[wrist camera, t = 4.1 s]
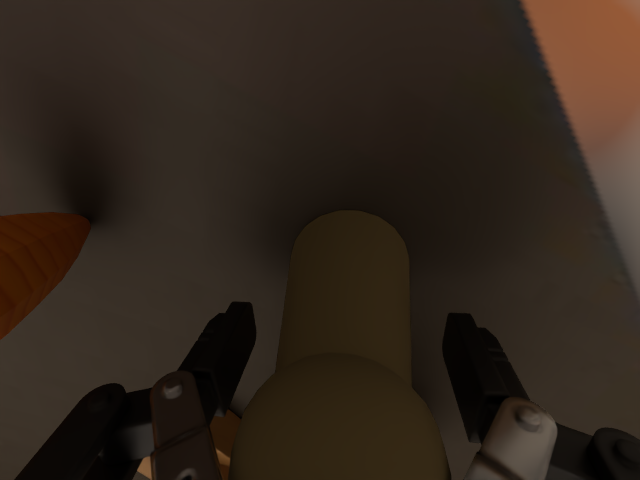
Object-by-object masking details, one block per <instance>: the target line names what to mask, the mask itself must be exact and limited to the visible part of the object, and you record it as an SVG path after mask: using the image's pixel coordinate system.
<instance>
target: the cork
mask: <svg viewBox="0 0 640 480" xmlns="http://www.w3.org/2000/svg"><path fill="white" fill-rule="evenodd" d="M228 480H451V472H450V468H449V464H448V460H447V456H446V452H445V448H444V445H443V442H442V438H441V435H440V432H439V428H438V426H437V424H436V422H435V420H434V418H433V416H432V414H431V412H430V410H429V408H428V406H427V404H426V403H425V402H424V401H423V400H422V398H421V397H420V396H419V395H418V394H417V393H416V392H415V390H414V389H413V388H412V363H411V319H410V275H409V256H408V252H407V249H406V245H405V242H404V240H403V239H402V238H401V236H400V235H399V233H398V232H397V231H396V229H395V228H394V227H393V226H391V225H390V224H389V223H387V222H386V221H384V220H383V219H381V218H380V217H379V216H375V215H372V214H369V213H366V212H363V211H360V210H338V211H335V212H332V213H328V214H325V215H321V216H319V217H318V218H316V219H315V220H314V221H312V222H311V223H309V224H308V225H306V226H305V227H304V229H303V230H302V231H301V233H300V234H299V235H298V237H297V238H296V239H295V243H294V246H293V250H292V253H291V259H290V266H289V274H288V281H287V289H286V296H285V303H284V311H283V318H282V326H281V333H280V340H279V348H278V355H277V362H276V370H275V374H273V375H272V376H271V377H270V378H269V379H268V380H267V381H266V382H265V383H264V384H263V385H262V386H261V387H260V388H259V389H258V390H257V392H256V394H255V395H254V397H253V398H252V400H251V401H250V403H249V404H248V406H247V407H246V409H245V411H244V413H243V416H242V419H241V422H240V424H239V427H238V430H237V432H236V436H235V439H234V443H233V447H232V450H231V457H230V465H229V474H228Z"/></svg>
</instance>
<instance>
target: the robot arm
mask: <svg viewBox="0 0 640 480" xmlns="http://www.w3.org/2000/svg"><path fill="white" fill-rule="evenodd" d="M255 341H256V325H255V319H254V313H253V307H252V304H251V303H250V302H232V303H231V304H230V306H229V308H228V309H227V311H226V313H219V314H218V315H216V316H215V317H214V318H213V319H211V320H210V321H209V322H208V324H207V326H206V327H205V329H204V330H203V333H201V335H200V336H199V338H198V341H196V342H195V344H194V346H193V347H192V349H191V350H190V352H189V353H188V355H187V356H186V358H185V359H184V361H183V363H182V364H181V366H180V367H179V369H178V370H177V371H175V372H172V373H169V374H167V375H165V376H164V377H162V378H161V379H160V380H158V381H157V382H156V384H155V385H154V386H153V387H152V388H148V389H144V390H139V391H134V392H129V393H126V391H125V389H124V387H123V386H122V385H120V384H117V383H110V384H106V385H102V386H100V387H98V388H96V389H94V390H92V391H91V392H89V393H88V394H87V395H85V396H84V397H83V398H82V399H81V400H80V401H79V403H78V404H77V405H76V406H75V407H74V409H73V410H72V411H71V412H70V413H69V415H68V416H67V417H66V418H65V419H64V421H63V422H62V423H61V424H60V425H59V427H58V428H57V429H56V430H55V431H54V433H53V434H52V435H51V436H50V437H49V439H48V440H47V441H46V442H45V443H44V445H43V446H42V447H41V448H40V449H39V451H38V452H37V453H36V454H35V455H34V457H33V458H32V459H31V460H30V461H29V463H28V464H27V465H26V466H25V467H24V469H23V470H22V471H21V472H20V473H19V475H18V476H17V477H16V478H15V479H14V480H132V479H133V477H134V475H135V473H136V472H137V470H138V468H139V466H140V464H141V462H142V460H143V458H146V457H150V464H151V477H152V480H224V478H223V474H222V470H221V467H220V463H219V459H218V455H217V452H216V448H215V444H214V440H213V436H212V433H211V429H210V424H211V422H212V420H213V417H214V416H219V417H225V415H226V412H227V410H228V408H229V405H230V403H231V400H232V398H233V395H234V393H235V391H236V388H237V386H238V383H239V381H240V379H241V376H242V374H243V371H244V369H245V366H246V364H247V362H248V359H249V357H250V354H251V352H252V350H253V347H254V345H255ZM442 350H443V357H444V361H445V364H446V367H447V371H448V374H449V377H450V381H451V384H452V387H453V390H454V394H455V397H456V400H457V404H458V407H459V410H460V413H461V417H462V420H463V423H464V427H465V430H466V433H467V437H468V440H469V442H473V443H481V445H482V446H481V448H480V450H479V452H477V453H476V455H475V457H474V459H473V461H472V463H471V465H470V467H469V469H468V471H467V473H466V475H465V477H464V479H463V480H640V440H639V439H637V438H636V437H634V436H632V435H630V434H628V433H626V432H623V431H621V430H618V429H614V428H601V429H598V430H597V431H596V432H595V434H594V435H593V436H591V435H588V434H585V433H582V432H579V431H577V430H574V429H571V428H568V427H565V426H563V425H560V424H558V423H556V422H554V420H553V419H552V417H551V416H550V415H549V414H548V413H547V412H546V411H545V410H544V409H543V408H542V407H540V406H539V405H538V404H536V403H534V402H532V401H530V399H529V397H528V395H527V393H526V392H525V390H524V388H523V386H522V384H521V382H520V381H519V379H518V377H517V375H516V373H515V371H514V369H513V368H512V366H511V364H510V362H508V358H507V356H506V355H505V353H504V352H503V349H502V347H501V345H500V343H499V342H498V340H497V338H496V337H495V336H494V335H493V334H491V333H490V332H489V331H488V330H487V329H486V328H477V326H476V324H475V321H474V319H473V317H472V316H471V314H467V313H449V314H448V316H447V321H446V327H445V332H444V337H443V343H442Z"/></svg>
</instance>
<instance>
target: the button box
mask: <svg viewBox="0 0 640 480" xmlns="http://www.w3.org/2000/svg"><path fill="white" fill-rule="evenodd" d="M240 422H241V419H240V418H239V417H238V416H236V415H235V414H234V413H233V412H231V411H230V410H229V409H228V410H227V412H226V415H225V417H219V416H214V417H213V420H212V422H211V424H210V429H211V433H212V436H213V440H214V444H215V448H216V452H217V455H218V459H219V463H220V467H221V470H222V474H223V478H224V480H228V474H229V465H230V457H231V450H232V447H233V443H234V439H235V436H236V432H237V430H238V427H239V424H240ZM137 471H139V472H140V473H142V474H143V475H145V476H147V477H148V478H150V479H151V480H152V477H151V464H150V457H146V458H143V460H142V462H141V464H140V466H139V468H138V470H137Z"/></svg>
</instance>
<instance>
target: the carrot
mask: <svg viewBox="0 0 640 480" xmlns="http://www.w3.org/2000/svg"><path fill="white" fill-rule="evenodd" d="M90 229H91V226H90V222H89V220H88V219H86V218H84V217H82V216H80V215H78V214H68V213H55V212H49V213H29V214H16V215H7V216H0V340H1V339H2V338H3V337H4V336H6V335H7V334H8V333H9V332H10V331H11V330H12V329H13V328H14V327H15V326H16V325H17V324H18V323H19V322H21V321H22V320H23V319H24V318H25V317H26V316H27V315H28V314H29V313H30V312H31V311H32V310H33V309H34V308H35V307H36V306H37V305H38V304H39V303H40V302H41V301H42V300H43V299H44V298H45V297H46V296H47V295H48V294H49V293H50V292H51V291H52V290H53V289H54V288H55V287H56V286H57V284H58V283H59V282H60V281H61V280H62V279H63V278H64V276H65V275H66V273H67V272H68V270H69V269H70V267H71V266H72V264H73V263H74V261H75V260H76V259H77V257H78V255H79V253H80V251H81V249H82V247H83V245H84V242H85V240H86V238H87V236H88V234H89V231H90Z"/></svg>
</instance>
